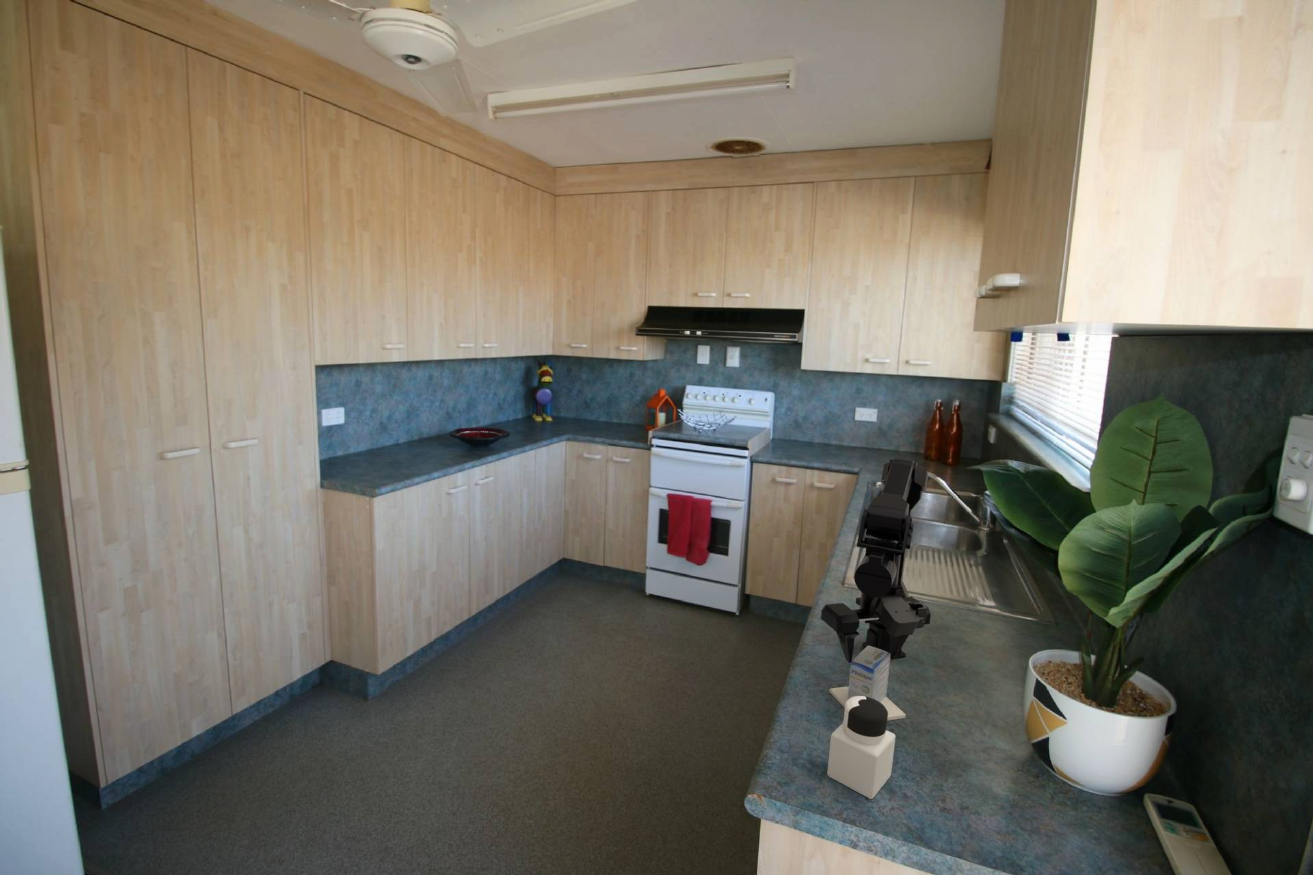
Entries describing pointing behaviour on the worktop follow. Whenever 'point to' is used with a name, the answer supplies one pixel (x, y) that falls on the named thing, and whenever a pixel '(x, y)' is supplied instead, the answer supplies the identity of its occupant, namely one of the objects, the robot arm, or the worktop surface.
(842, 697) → the mat
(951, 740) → the worktop surface
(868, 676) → the medicine box
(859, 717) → the medicine bottle
